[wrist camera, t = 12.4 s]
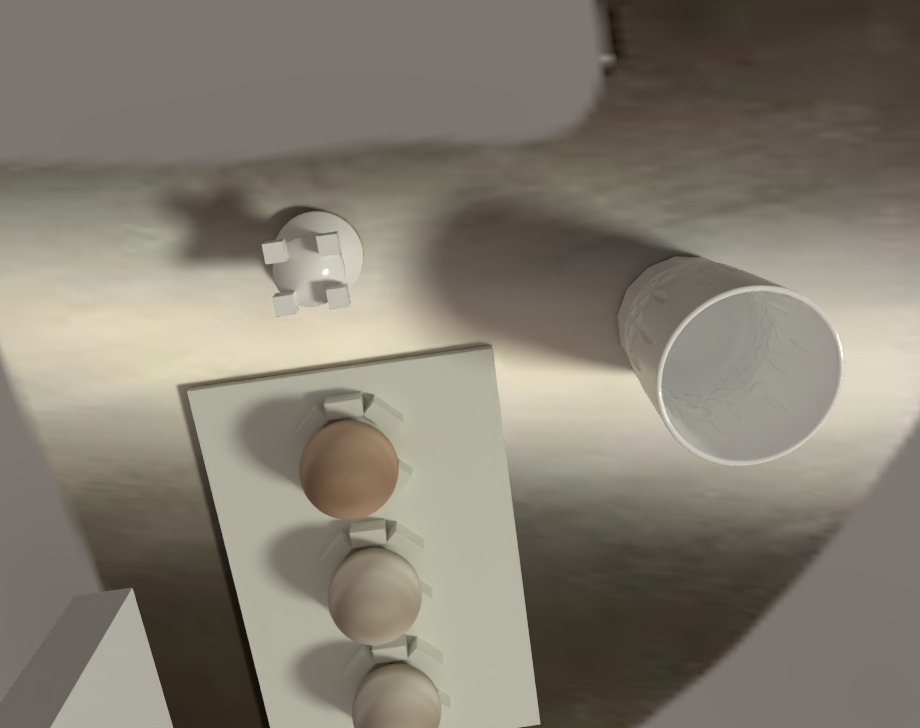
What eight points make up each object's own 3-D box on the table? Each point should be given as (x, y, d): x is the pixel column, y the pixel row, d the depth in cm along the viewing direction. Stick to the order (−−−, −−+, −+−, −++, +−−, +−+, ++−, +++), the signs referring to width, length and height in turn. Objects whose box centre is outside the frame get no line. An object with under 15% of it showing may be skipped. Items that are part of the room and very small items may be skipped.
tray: (189, 387, 44) (181, 398, 43) (491, 345, 44) (494, 354, 43) (280, 754, 52) (275, 775, 50) (539, 717, 52) (542, 737, 50)
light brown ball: (299, 412, 44) (281, 451, 40) (393, 400, 44) (386, 437, 39) (317, 496, 46) (302, 544, 41) (407, 485, 46) (403, 531, 41)
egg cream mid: (325, 537, 47) (314, 588, 42) (414, 525, 47) (414, 574, 42) (340, 614, 48) (332, 672, 43) (427, 602, 48) (428, 658, 43)
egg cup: (267, 216, 42) (246, 233, 37) (355, 204, 42) (346, 219, 37) (285, 302, 43) (266, 330, 38) (370, 290, 43) (363, 316, 38)
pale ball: (348, 651, 49) (340, 711, 44) (433, 639, 49) (435, 698, 44) (363, 721, 50) (356, 786, 46) (445, 710, 50) (448, 774, 46)
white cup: (757, 375, 46) (847, 449, 36) (613, 400, 46) (664, 480, 36) (749, 231, 43) (842, 269, 34) (597, 258, 43) (647, 303, 34)
